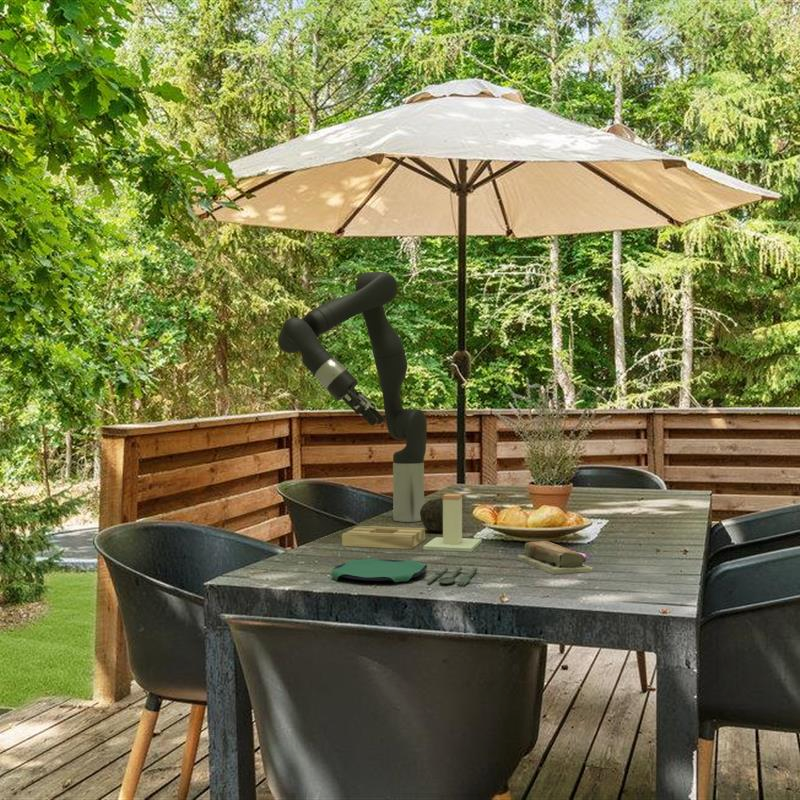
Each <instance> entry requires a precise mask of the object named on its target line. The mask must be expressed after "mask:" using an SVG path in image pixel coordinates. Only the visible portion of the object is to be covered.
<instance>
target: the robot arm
mask: <svg viewBox="0 0 800 800" xmlns="http://www.w3.org/2000/svg"><path fill="white" fill-rule="evenodd" d="M354 287H355V291H353V292H352V293H349V294H347V295H343V296H341V297H338V298H334V299H332V300H329V301H326V302H324V303H322V304H320V305H318V306H317V307H315V308H313V309H312V310H310V311H308V312H306V314H305V315H304V317H303V318H301V317H300V318H299V317H296V316H295V317H293V316H292V317H289V318H287V319H286V320H285V321H284V323H283V325H282V328H281V330H280V332H279V335H278V337H277V344H278V347H279V348H280V349H281V350H282V351H283V352H284V353H287V354H295V353H298V352H300V353H301V362H302V364H303V366H304V367H305V368H306V369H307V370H308V371H309V372H310V373H311V374H312V375H313V376H314V377H315V378H316V379H317V381H318V382H319V384H321V386H322V387H323V388H324V389H325V391H326V390H327V392H329V394H330V395H331V396H332V397H333V398H334V399H335V400H336V401H337V402H338V401H342V400H343V401H344V402H345V403H346V404H347V405H348V406H349V407H350V408H351V409H352V410H353V411H354V413H355V414H356V415H359V416H361V417H362V418H364V420H366V422H367V423H368V424H369V425H370V426H375V424H378V425H381V424H382V423H383V422H384V421H386V422H385V423H386V424H385V425H386V428H387V432H388V433H389V435H390V437H391V438H392V439H395V440H406V444H405V446H404V448H402V449H401V450H399V451H396V452H394V453H393V455H392V476H393V477H392V483H393V485H392V488H393V489H392V495H393V498H392V501H393V503H392V504H393V505H392V506H393V507H392V508H393V509H392V511H393V512H392V515H393V517H392V520H393V521H395V522H402V523H406V522H407V523H412V522H413V523H415V522H422V520H421V516H420V510H421V508H422V506H423V505H424V504H425V455H426V451H427V435H428V434H427V431H428V424H427V418H426V414H425V412H424V411H423V410H421V409H417V408H404V406H403V403H402V398H401V390H402V386H403V383H404V380H405V378H406V374H407V371H408V359H407V356H406V355H407V354H406V352H405V351H406V350H405V347H404V343H403V341H402V340H401V338H400V336H399V334H398V333H397V332H396V330H395V328H394V326H392V324H391V323H390V322H389V319H388V317H387V316H386V311H385V308H384V305H386V304H388V303H391V302H392V301H393V300H394V299H395V298H396V296H397V294H398V283H397V280H396V278H395V276H394V275H392V274H390V273H388V272H385V271H384V272H382V271H367V272H362V273H361V274H360V275H358V277H357V278H356V281H355V286H354ZM360 314H362V315H363V319H364V323H365V326H366V331H367V334H368V337H369V338H368V339H369V341H370V346H371V350H372V356H373V360H374V364H375V368H376V372H377V375H378V376H377V377H378V379H379V384H380V385H379V386H380V390H381V395H382V400H383V401H382V402H383V409H384V416H383V415H382V414H381V413H380V412H379V411H378V410H377V409H376V405H375V404H374V403H373V402H372V401H371V400H370V399H369V398H368V397H367V396H366V395H365V394H364V393H363V392H362V391H357V389H355V387H357V385H358V384H359V382H358V381H359V380H358V379H357V378H356V377H355V376H354V375H353V374H352V373H351V372H350V371H349V370H348V369H347V368H346V367H345V366H344V365H343V364H342V363H341V362H340V361H339V360H337V359H336V358H335V357H334V356H333V355H332V354H331V353H330V352H329V351H328V350H327V349H326V348H325V347H323V345H322V343H321V341H320V340H319V337H320V336H321V335H324V334H325V333H327V332H329V331H330V330H333V328H335V327H337V326H339V325H340V324H342V323H344V322H346V321H348V320H350V319H352V318H355V317H356V316H358V315H360Z"/></svg>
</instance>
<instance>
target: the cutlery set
mask: <svg viewBox="0 0 800 800" xmlns="http://www.w3.org/2000/svg"><path fill="white" fill-rule="evenodd" d="M427 567H428V565H427V564H424V563H422V562H419V561H416V560H398V559H379V558H364V559H357V560H355V559H354V560H349V561H347V562H344V563H341V564H338V565H336V566H334V568H332V570H331V577H332V578H333V579H334V580H335V581H338V578H339V577H341V578H346V579H350V580H356V581H357V580H358V581H369V582H373V581H375V582H376V581H377V582H385V581H389V582H390V581H393V582H394V583H400V582H408V581H409V580H411V579H412V578H417V577H419V576H420V575H424V573H426V571H427ZM448 571H449V568H448V567H444V569H443V570H440V571H437V572H435V575H433V576H431V577H429V579H428V580H427V584H431V583H432V582H434V581H436V579H438V582H439V583H440V584H443V585H451V584H453V583H455V581H456V578H455V576H456V575H457V574H458V573H460V572H461V571H463V567H462V566H458V567H457V568H456V569H455V570H454V571H453V572H452V573H451V575H450V576H445V577H442V575H443V573H444V572H448ZM477 572H478V567H474V568H472V569H471V571H470V572H469V573H468V574H467V575H465V574H464V576H461V577H460V578H459V581H458V582H457V583H456V586H466V585H467V584H469V583H470V582H471V578H472V577H474V575H475V574H476V573H477Z"/></svg>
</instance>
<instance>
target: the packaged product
mask: <svg viewBox="0 0 800 800" xmlns="http://www.w3.org/2000/svg"><path fill="white" fill-rule="evenodd" d="M517 560H518V561H520V562H522V563H524V564H527V565H529V566H531V567H532V568H535V569H538V570H540V571H543V572H545V573H548V574H551V575H555V576H556V575H566V574H567V575H568V574H569V575H570V574H578V573H580V574H581V573H593V572H594V569H595V568H594V566H590V565H586V564H584V561H585V556H584V555H583V554H582V553H580V552H577V551H575V550H572V549H569V548H567V547H564V546H561V545H560V544H556V543H553V542H551V541H548V540H540V541H538V540H537V541H529V542H525V545H524V554H523V555H522V554H518V555H517Z"/></svg>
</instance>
